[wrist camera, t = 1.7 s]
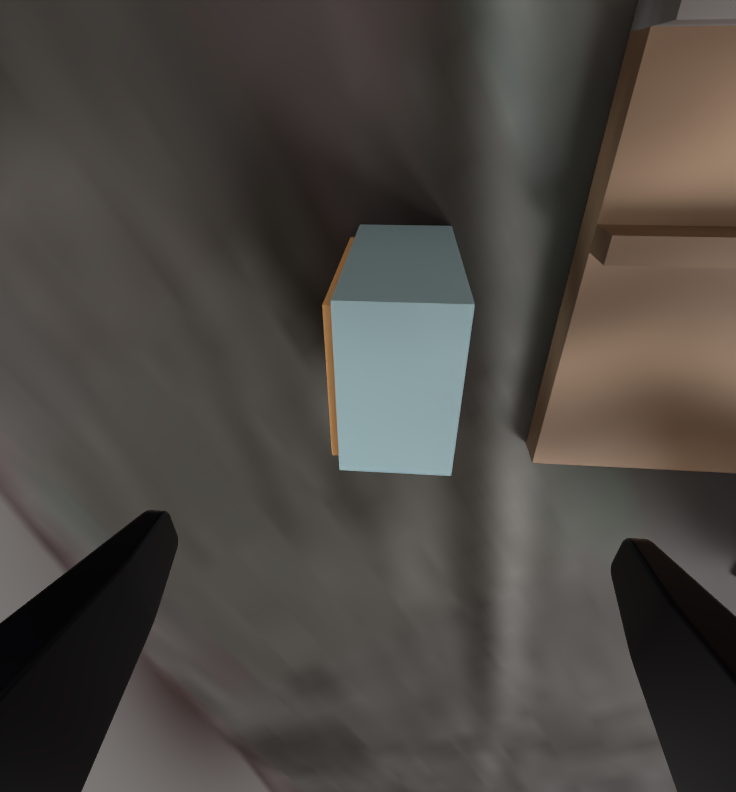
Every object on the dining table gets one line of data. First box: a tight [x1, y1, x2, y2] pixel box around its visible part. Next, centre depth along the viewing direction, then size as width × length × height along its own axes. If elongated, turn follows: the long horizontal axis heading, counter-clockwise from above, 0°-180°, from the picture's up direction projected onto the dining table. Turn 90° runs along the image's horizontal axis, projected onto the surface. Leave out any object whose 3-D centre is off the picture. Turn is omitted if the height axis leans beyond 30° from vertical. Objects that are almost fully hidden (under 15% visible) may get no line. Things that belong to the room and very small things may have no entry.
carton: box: [322, 224, 475, 476], centre depth 17 cm, size 4×6×8 cm, turn 0°
